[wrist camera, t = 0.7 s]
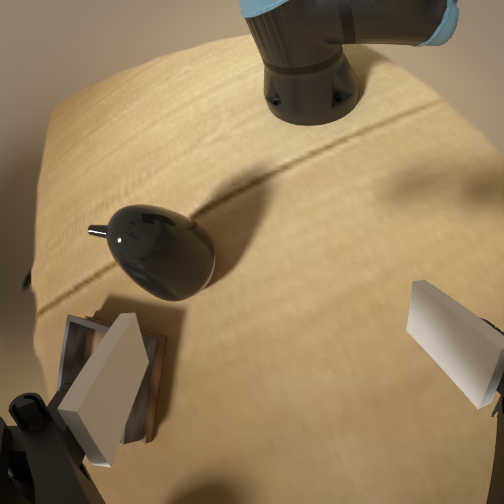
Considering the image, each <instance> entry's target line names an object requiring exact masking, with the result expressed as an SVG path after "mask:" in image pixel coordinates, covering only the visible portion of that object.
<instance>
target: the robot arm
mask: <svg viewBox="0 0 504 504" xmlns="http://www.w3.org/2000/svg"><path fill="white" fill-rule="evenodd" d="M238 1H239V4H240V6H241V13H242V15H243V17H245V19H246V22H247V24H248V26H249V29H250V31H251V33H252V36H253V38H254V41H255V43H256V45H257V48H258V50H259V53H260V55H261V57H262V60H263V63H264V65H265V67H264V96H265V99H266V102H267V104H268V107H269V109H270V110H271V112H272V113H273V114H274V115H275V116H276V117H278V118H279V119H281V120H283V121H285V122H288V123H291V124H296V125H305V126H312V125H321V124H326V123H329V122H332V121H335V120H337V119H340V118H341V117H343V116H345V115H346V114H348V113H349V112H350V111H351V110H352V109H353V108H354V106H355V105H356V103H357V101H358V98H359V85H358V80H357V76H356V74H355V72H354V71H353V69H352V67H351V65H350V63H349V62H348V60H347V58H346V56H345V55H344V53H343V49H342V44H399V45H411V46H423V45H427V46H439V45H442V44H444V43H446V42H447V41H448V40H449V39H450V38H451V37H452V35H453V33H454V31H455V29H456V26H457V22H458V15H459V8H458V7H457V5H456V4H457V1H458V0H238ZM407 332H408V333H409V334H410V335H411V336H412V337H413V338H414V339H415V340H416V341H417V342H418V343H419V344H420V345H421V347H422V348H423V349H424V350H425V351H426V352H427V353H428V354H429V355H430V356H431V357H432V358H433V359H434V360H435V362H436V363H437V364H438V365H439V366H440V367H441V368H442V369H443V370H444V371H445V372H446V374H447V375H448V376H449V377H450V378H451V379H452V380H453V381H454V382H455V384H456V385H457V386H458V387H459V388H460V389H461V390H462V391H463V393H464V394H465V395H466V396H467V397H468V398H469V399H470V401H471V402H472V403H473V404H474V405H475V406H476V407H477V409H480V408H482V407H484V406H486V405H488V404H489V403H491V402H492V400H493V397H494V395H495V393H496V391H498V392H499V393H500V394H501V396H500V398H499V400H498V402H497V405H496V407H495V409H494V411H493V413H492V416H491V417H494V415H495V413H496V412H497V411H498V415H497V417H498V418H497V434H496V446H495V455H494V463H493V470H492V476H491V482H490V488H489V493H488V498H487V502H486V504H504V332H501V330H500V329H498V328H497V327H495V326H494V325H493V324H491V323H490V322H489V321H487V320H485V319H482V318H480V317H478V316H476V315H475V314H474V313H472V312H471V311H469V310H468V309H467V308H465V307H464V306H462V305H461V304H460V303H458V302H457V301H455V300H454V299H452V298H451V297H450V296H448V295H447V294H445V293H444V292H442V291H441V290H439V289H438V288H436V287H435V286H433V285H432V284H430V283H429V282H427V281H426V280H420V281H415V282H412V292H411V301H410V309H409V317H408V324H407ZM148 364H149V360H148V357H147V354H146V350H145V347H144V343H143V340H142V336H141V332H140V329H139V325H138V321H137V317H136V313H120V315H119V316H118V318H117V319H116V320H115V322H114V323H113V325H112V326H111V327H110V329H109V330H108V332H107V333H106V335H105V336H104V338H103V339H102V340H101V342H100V343H99V345H98V346H97V348H96V349H95V351H94V352H93V354H92V355H91V357H90V358H89V360H88V361H87V363H86V364H85V366H84V367H83V368H79V367H78V368H76V369H75V370H74V371H72V372H71V373H70V374H69V375H68V376H67V378H66V379H65V380H64V382H63V384H62V385H61V386H60V388H59V391H57V392H56V394H55V395H54V397H53V398H52V400H51V402H50V403H49V405H48V406H47V407H46V405H45V403H44V401H43V400H42V398H41V396H40V395H38V394H36V393H25V394H22V395H20V396H18V397H16V398H15V399H14V400H13V401H12V402H11V404H10V406H9V412H10V414H11V416H12V417H13V419H14V420H15V422H16V424H17V425H18V426H7V425H6V424H5V422H4V420H3V419H2V417H0V504H106V503H105V502H104V500H103V498H102V497H101V495H100V493H99V491H98V490H97V488H96V486H95V484H94V482H93V480H92V479H91V477H90V475H89V473H88V471H87V469H86V467H85V466H84V464H83V463H82V461H83V459H84V456H85V455H86V456H87V458H88V459H89V461H90V462H91V463H92V464H93V465H99V466H105V467H111V466H112V463H113V460H114V457H115V454H116V451H117V448H118V445H119V442H120V440H121V437H122V434H123V431H124V428H125V425H126V422H127V420H128V417H129V414H130V411H131V409H132V406H133V403H134V400H135V398H136V395H137V392H138V390H139V387H140V384H141V382H142V379H143V377H144V374H145V371H146V369H147V366H148Z"/></svg>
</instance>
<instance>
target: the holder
mask: <svg viewBox="0 0 504 504" xmlns="http://www.w3.org/2000/svg"><path fill="white" fill-rule="evenodd" d="M112 325H113V323H109V322H106V321H102V320H99V319H96V318H92V317H88V316H85V319H84V318H80V317H76V316H72V315H68V316H67V321H66V327H65V333H64V339H63V345H62V352H61V360H60V367H59V376H58V386H57V391H59V388H60V386H61V385H62V384H63V382H64V380H65V379H66V378H67V376H68V375H69V374H70V373H71V372H72V371H74V370H75V369H76V368H78V367H79V368H83V367H84V366H85V364H86V363H87V361H88V360H89V358H90V357H91V355H92V354H93V352H94V351H95V349H96V348H97V346H98V345H99V343H100V342H101V340H102V339H103V338H104V336H105V335H106V333H107V332H108V330H109V329H110V327H111V326H112ZM140 332H141V336H142V340H143V343H144V347H145V350H146V354H147V357H148V360H149V364H148V366H147V369H146V371H145V374H144V377H143V379H142V382H141V384H140V387H139V390H138V392H137V395H136V398H135V400H134V403H133V406H132V409H131V411H130V414H129V417H128V420H127V422H126V425H125V428H124V431H123V434H122V437H121V440H120V443H122V444H127V443H131V442H135V441H141V442H143V443H148V442H152V436H153V427H154V419H155V412H156V404H157V397H158V390H159V383H160V377H161V370H162V364H163V358H164V352H165V346H166V340H167V337H163V336H159V335H155V334H151V333H147V332H143V331H140Z"/></svg>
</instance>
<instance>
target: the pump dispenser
mask: <svg viewBox="0 0 504 504" xmlns="http://www.w3.org/2000/svg"><path fill="white" fill-rule="evenodd" d="M88 233H89V234H90V235H93V236H98V237H102V238H106V239H107V243H108V247H109V250H110V252H111V254H112V256H113V258H114V259H115V261H116V262H117V264H118V265H119V266H120V267H121V269H122V270H123V271H124V272H125V273H126V274H127V275H128V276H129V277H130V278H131V279H132V280H133V281H134V282H135V283H136V284H137V285H139V286H140V287H141V288H143V289H144V290H145V291H147V292H148V293H150V294H152V295H153V296H155V297H157V298H160V299H162V300H166V301H181V300H184V299H187V298H189V297H192V296H194V295H196V294H197V293H199V292H200V291H201V290H202V289H204V288H205V286H206V285H207V284H208V283H209V281H210V279H211V277H212V275H213V272H214V268H215V251H214V245H213V241H212V239H211V237H210V235H209V234H208V232H207V231H206V230H205V229H204V228H203V227H202V226H201V225H199V224H198V223H197V222H195V221H193V220H192V219H190V218H188V217H186V216H184V215H182V214H179V213H177V212H174V211H171V210H168V209H165V208H162V207H158V206H153V205H145V204H136V205H130V206H126V207H123V208H121V209H120V210H118V211H117V212H116V213H115V214H114V215H113V216H112V217H111V219H110V221H109V223H108V225H90V226H89V227H88Z"/></svg>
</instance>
